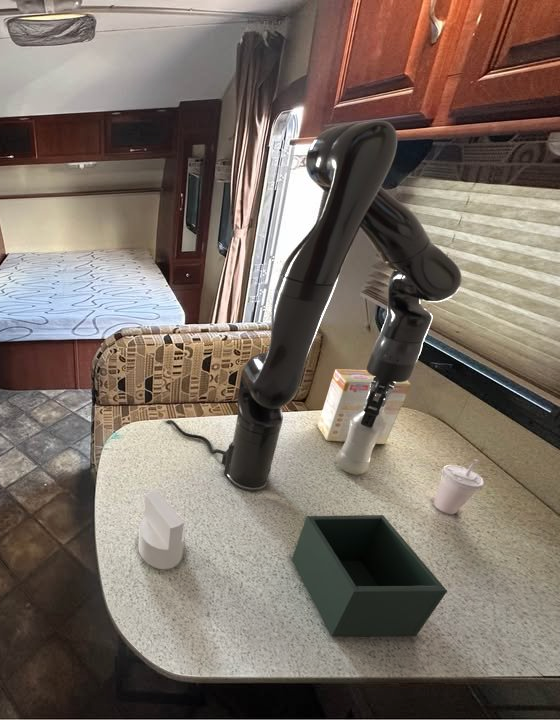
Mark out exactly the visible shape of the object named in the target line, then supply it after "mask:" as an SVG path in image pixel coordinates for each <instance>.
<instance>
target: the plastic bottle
mask: <svg viewBox="0 0 560 720" xmlns="http://www.w3.org/2000/svg"><path fill="white" fill-rule="evenodd" d="M367 402H368V401H367V400H366V401H365V403H364V405H363V406H362V408H363V409H361V410H359V411H357V412H355V413H354V414H353V415H352V416H351V419H350V426H349V432H348V436H347V439H346V441H345V442H344V443H343V445H342V446H341V448H340V449H339V451H338V453H337V455H336V464H337V465H338V467H339V468H340V469H341V470H342V471H344V472H346V473H348V474H351V475H362V474H365V473H366V472H367V471H368V470H369V468H370V464H371V457H372V453H373V449H374V447H375V445H376V444H375V443H376V441H377V439H378V437H379V436H380V434H381V433H382V432H383V430H384V428H385V421H384V419H383V417H382V415H381V414H383V412H384V408H385V405H384V406H381V408H380V411H379V412H380V413H379V415H378V416H377V417H376V419H375V422H374V424H373V427H371V428H370V427H367V426H364V425H362V424H361V421H362V418H363V416H364V409H365V407H366V405H367ZM369 407H371V408H374V409H377V408H375V407H372V406H369Z"/></svg>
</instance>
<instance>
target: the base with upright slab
mask: <svg viewBox="0 0 560 720" xmlns="http://www.w3.org/2000/svg"><path fill="white" fill-rule="evenodd" d="M184 525H185V522H184V520H183V519H182V518H181V516H180V515H179V514H178V513H177V511H176V510H175V509H174V508H173V506H172V505H171V504H170V503H169V501H168V500H167V499H166V498H165V497H164V495H163V494H162V493H161V492H160V491H159V490H158V489H155V490H152V491H150V492H148V493H146V494H145V496H144V515H143V516H142V517H141V519H140V522H139V527H138V552H139V554H140V556H141V558H142V559H143V561H144V562H145V563H146V564H148V565H149V566H150V567H153V568H155V569H159V570H169V569H173V568H175V567H176V566H178V565H179V564H180V562H181V561H182V559H183V556H184V548H185V542H186V541H185V540H186V529H185V526H184Z"/></svg>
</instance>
